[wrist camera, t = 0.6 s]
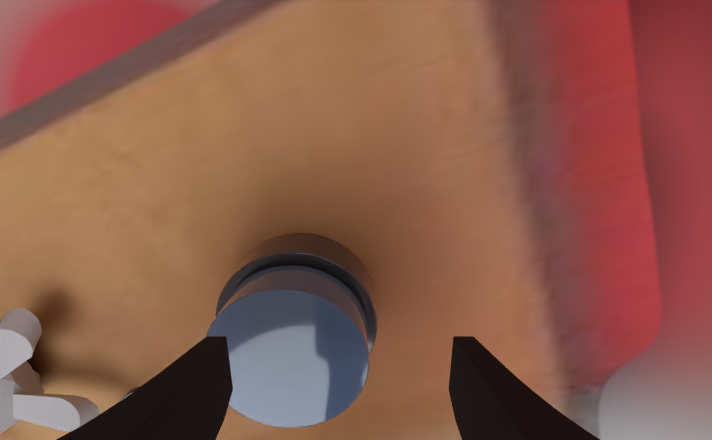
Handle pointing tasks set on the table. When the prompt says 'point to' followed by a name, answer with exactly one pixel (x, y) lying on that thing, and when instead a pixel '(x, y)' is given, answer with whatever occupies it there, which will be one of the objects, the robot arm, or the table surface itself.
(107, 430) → the robot arm
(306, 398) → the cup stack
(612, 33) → the table surface
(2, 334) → the bunny figurine
